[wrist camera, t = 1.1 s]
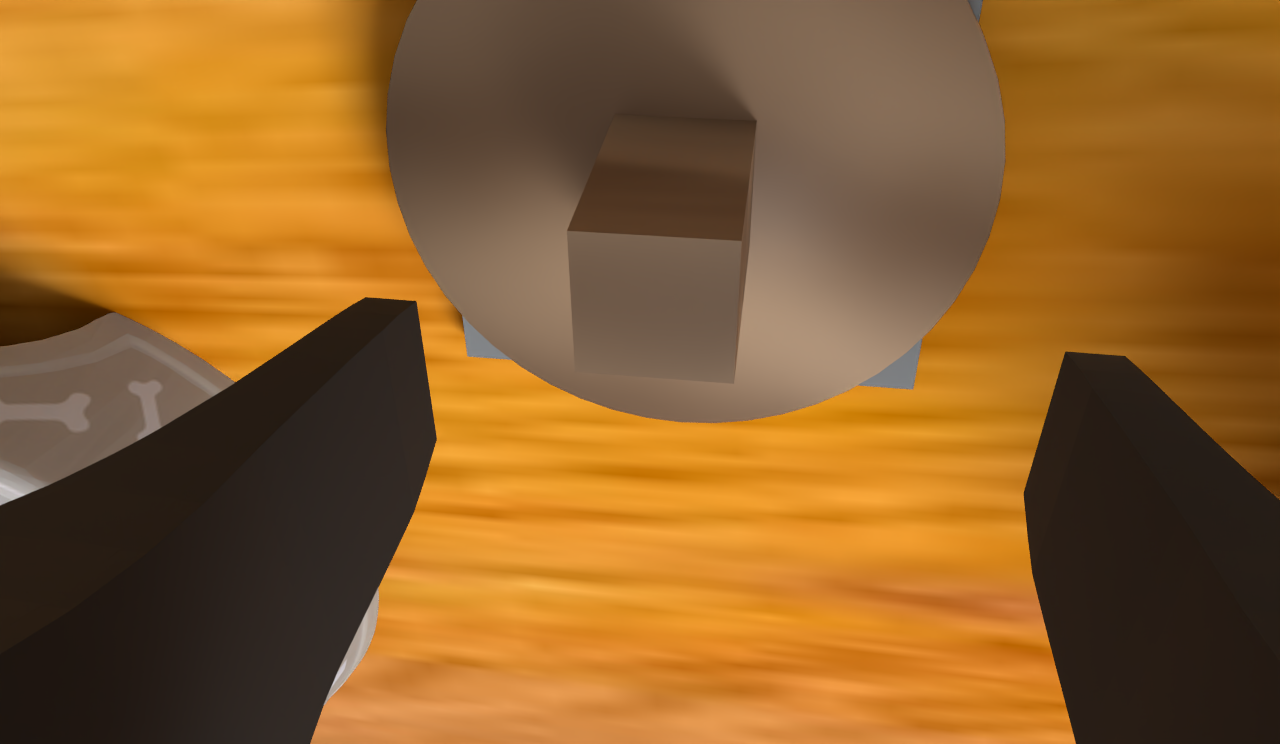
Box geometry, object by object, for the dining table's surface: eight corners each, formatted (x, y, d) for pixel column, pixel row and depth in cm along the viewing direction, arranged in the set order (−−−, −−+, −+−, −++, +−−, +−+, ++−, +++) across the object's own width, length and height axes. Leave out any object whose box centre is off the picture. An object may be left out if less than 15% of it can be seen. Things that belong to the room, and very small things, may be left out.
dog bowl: (-348, 242, 27) (-574, 363, 22) (344, 323, 25) (245, 471, 21) (-98, 666, 37) (-219, 806, 32) (407, 744, 35) (349, 902, 31)
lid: (944, 420, 23) (972, 601, 19) (438, 381, 24) (357, 542, 20) (1064, -161, 16) (1150, -80, 12) (353, -170, 18) (206, -100, 13)
